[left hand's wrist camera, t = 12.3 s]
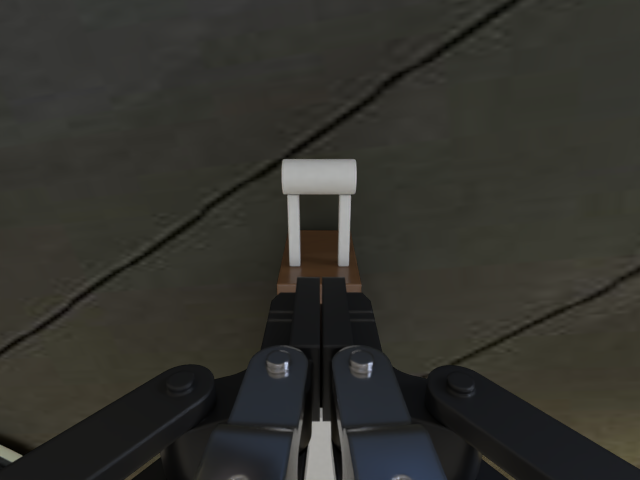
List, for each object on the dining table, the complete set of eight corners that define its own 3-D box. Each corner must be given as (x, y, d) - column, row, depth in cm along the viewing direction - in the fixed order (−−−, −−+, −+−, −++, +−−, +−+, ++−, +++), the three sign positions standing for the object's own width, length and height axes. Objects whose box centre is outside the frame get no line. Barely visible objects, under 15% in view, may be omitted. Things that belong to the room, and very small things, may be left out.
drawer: (285, 143, 25) (270, 168, 18) (353, 143, 25) (366, 168, 18) (293, 405, 33) (286, 497, 26) (345, 405, 33) (352, 497, 26)
